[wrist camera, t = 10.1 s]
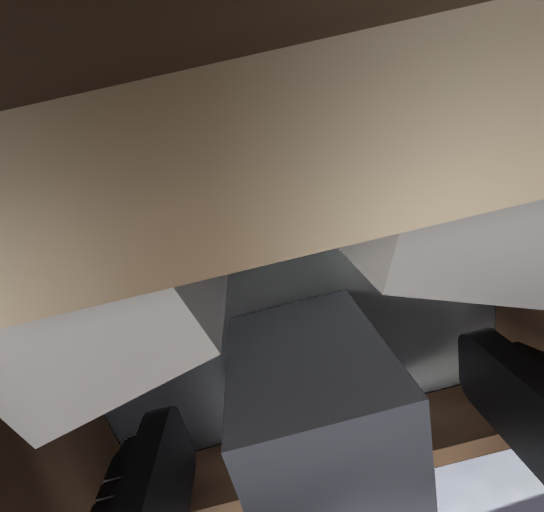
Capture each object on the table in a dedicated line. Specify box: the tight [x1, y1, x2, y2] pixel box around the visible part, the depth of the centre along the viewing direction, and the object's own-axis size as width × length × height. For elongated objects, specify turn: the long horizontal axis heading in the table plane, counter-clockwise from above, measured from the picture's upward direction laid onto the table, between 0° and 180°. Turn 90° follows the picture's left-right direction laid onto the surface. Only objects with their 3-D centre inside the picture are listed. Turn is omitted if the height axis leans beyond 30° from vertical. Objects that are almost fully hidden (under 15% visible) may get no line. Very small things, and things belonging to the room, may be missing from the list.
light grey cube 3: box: [338, 199, 544, 310], centre depth 8 cm, size 4×4×4 cm
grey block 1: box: [0, 275, 228, 449], centre depth 7 cm, size 4×4×5 cm
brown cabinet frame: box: [0, 306, 544, 512], centre depth 8 cm, size 16×13×6 cm
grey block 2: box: [221, 289, 437, 512], centre depth 9 cm, size 4×4×5 cm
